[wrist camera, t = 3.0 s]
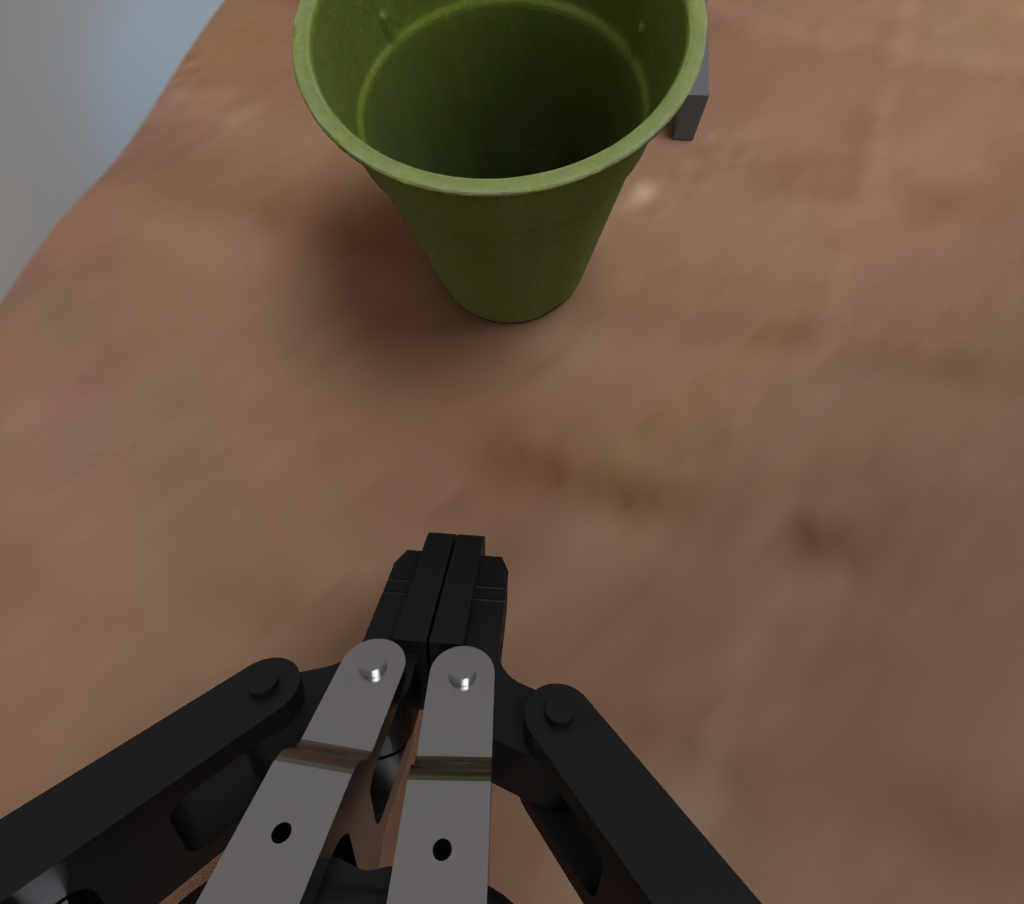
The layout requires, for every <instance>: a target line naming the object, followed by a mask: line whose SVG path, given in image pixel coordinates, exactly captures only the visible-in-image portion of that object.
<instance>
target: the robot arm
mask: <svg viewBox="0 0 1024 904" xmlns="http://www.w3.org/2000/svg"><path fill="white" fill-rule="evenodd" d="M507 587H508V570H507V568H506V565H505V563H504V561H503V559H502V557H494V556H485V536H473V535H460V534H458V535H456V534H445V533H431V532H430V533H429V534H428V536H427V538H426V541H425V544H424V547H423V550H422V551H414V550H407V551H406V552H405V553H404V554H403V555H402V556H401V557H400V558H399V559H398V560H397V561H396V562H395V563H394V566H393V568H392V571H391V573H390V576H389V580H388V581H387V583H386V586H385V588H384V592H383V593H382V596H381V598H380V600H379V603H378V605H377V608H376V610H375V613H374V615H373V618H372V620H371V623H370V625H369V628H368V630H367V633H366V635H365V638H364V640H363V642H362V643H360V644H358V645H356V646H355V647H353V648H352V649H351V650H350V651H349V652H348V653H347V654H346V655H345V656H344V658H343V660H342V661H341V662H339V663H337V664H335V665H332V666H328V667H324V668H319V669H314V670H309V671H304V672H299V670H298V668H297V666H296V665H295V664H294V663H293V662H291V661H290V660H287V659H284V658H269V659H264V660H261V661H258V662H256V663H254V664H252V665H250V666H248V667H247V668H245V669H244V670H242V671H240V672H239V673H237V674H235V675H234V676H232V677H231V678H229V679H227V680H226V681H224V682H222V683H221V684H219V685H218V686H216V687H214V688H213V689H211V690H209V691H208V692H206V693H205V694H203V695H201V696H200V697H198V698H196V699H195V700H193V701H192V702H190V703H188V704H187V705H185V706H183V707H182V708H180V709H179V710H177V711H175V712H174V713H172V714H170V715H169V716H167V717H166V718H164V719H162V720H161V721H159V722H157V723H156V724H154V725H153V726H151V727H149V728H148V729H146V730H145V731H143V732H141V733H140V734H138V735H136V736H135V737H133V738H132V739H130V740H128V741H127V742H125V743H123V744H122V745H120V746H119V747H117V748H115V749H114V750H112V751H110V752H109V753H107V754H106V755H104V756H102V757H101V758H99V759H97V760H96V761H94V762H93V763H91V764H89V765H88V766H86V767H84V768H83V769H81V770H80V771H78V772H76V773H75V774H73V775H71V776H70V777H68V778H67V779H65V780H63V781H62V782H60V783H58V784H57V785H55V786H54V787H52V788H50V789H49V790H47V791H45V792H44V793H42V794H41V795H39V796H37V797H36V798H34V799H32V800H31V801H29V802H28V803H26V804H24V805H23V806H21V807H19V808H18V809H16V810H15V811H13V812H11V813H10V814H8V815H6V816H5V817H3V818H2V819H0V904H159V903H160V902H161V901H163V900H164V899H165V898H166V897H167V896H169V895H170V894H171V893H172V892H173V891H175V890H176V889H177V888H178V887H180V886H181V885H182V884H183V883H184V882H186V881H187V880H188V879H189V878H191V877H192V876H193V875H194V874H195V873H197V872H198V871H199V870H200V869H201V868H203V867H204V866H205V865H206V864H208V863H209V862H210V861H211V860H212V859H214V858H215V857H216V856H217V855H218V854H220V853H221V852H222V851H223V850H225V851H224V853H223V855H222V856H221V858H220V860H219V862H218V864H217V866H216V867H215V869H214V871H213V873H212V875H211V877H210V878H209V880H208V881H207V882H205V883H204V884H202V885H201V886H199V887H198V888H197V889H195V890H194V891H193V892H191V893H190V894H189V895H187V896H186V897H185V898H184V899H183V900H181V901H180V902H179V903H178V904H513V903H512V902H511V901H510V900H509V899H508V898H506V897H505V896H504V895H503V894H501V893H500V892H498V891H497V890H495V889H494V888H492V887H490V886H488V880H489V847H490V815H491V784H492V783H494V784H496V785H498V786H500V787H502V788H504V789H506V790H508V791H510V792H512V793H514V794H516V795H518V796H519V797H520V799H521V802H522V804H523V806H524V808H525V810H526V811H527V813H528V815H529V816H530V818H531V819H532V821H533V823H534V824H535V826H536V828H537V829H538V831H539V832H540V834H541V836H542V837H543V839H544V840H545V842H546V844H547V845H548V847H549V849H550V850H551V852H552V853H553V855H554V857H555V858H556V860H557V861H558V863H559V865H560V866H561V868H562V869H563V871H564V873H565V874H566V876H567V878H568V879H569V881H570V882H571V884H572V886H573V887H574V889H575V890H576V892H577V894H578V895H579V897H580V899H581V900H582V902H583V903H584V904H761V902H760V901H759V900H758V899H757V898H756V897H755V895H754V894H753V893H752V892H751V891H750V889H749V888H748V887H747V886H746V885H745V884H744V882H743V881H742V880H741V879H740V878H739V877H738V875H737V874H736V873H735V872H734V871H733V870H732V868H731V867H730V866H729V865H728V864H727V863H726V861H725V860H724V859H723V858H722V857H721V855H720V854H719V853H718V852H717V851H716V850H715V848H714V847H713V846H712V845H711V844H710V843H709V841H708V840H707V839H706V838H705V837H704V836H703V834H702V833H701V832H700V831H699V830H698V829H697V827H696V826H695V825H694V824H693V823H692V822H691V820H690V819H689V818H688V817H687V816H686V814H685V813H684V812H683V811H682V810H681V809H680V807H679V806H678V805H677V804H676V803H675V802H674V800H673V799H672V798H671V797H670V796H669V795H668V793H667V792H666V791H665V790H664V789H663V788H662V786H661V785H660V784H659V783H658V782H657V780H656V779H655V778H654V777H653V776H652V775H651V773H650V772H649V771H648V770H647V769H646V768H645V766H644V765H643V764H642V763H641V762H640V761H639V759H638V758H637V757H636V756H635V755H634V754H633V752H632V751H631V750H630V749H629V748H628V747H627V745H626V744H625V743H624V742H623V741H622V739H621V738H620V737H619V736H618V735H617V734H616V732H615V731H614V730H613V729H612V728H611V727H610V725H609V724H608V723H607V722H606V721H605V720H604V718H603V717H602V716H601V715H600V714H599V713H598V711H597V710H596V709H595V708H594V707H593V705H592V704H591V703H590V702H589V701H588V700H587V698H586V697H585V696H584V695H583V694H582V693H580V692H579V691H578V690H576V689H574V688H573V687H570V686H568V685H564V684H548V685H544V686H542V687H540V688H538V689H537V690H535V689H532V688H530V687H527V686H525V685H523V684H521V683H519V682H517V681H515V680H514V679H512V678H511V677H510V676H509V675H508V674H507V673H506V671H505V670H504V669H503V667H502V665H501V658H502V648H503V639H504V629H505V621H506V612H507ZM419 709H423V710H424V711H423V717H422V724H421V730H420V736H419V742H418V749H417V755H416V760H415V763H414V765H411V768H410V771H409V775H408V779H407V785H406V791H405V796H404V802H403V808H402V814H401V820H400V826H399V832H398V838H397V844H396V850H395V856H394V862H393V866H389V867H384V868H380V869H378V867H379V862H380V856H381V848H382V840H383V835H384V831H385V827H386V824H387V821H388V818H389V815H390V811H391V808H392V805H393V802H394V799H395V796H396V793H397V790H398V787H399V784H400V781H401V777H402V774H403V771H404V768H405V765H406V762H407V759H408V756H409V753H410V750H411V747H412V743H413V730H414V727H415V723H416V719H417V715H418V711H419Z"/></svg>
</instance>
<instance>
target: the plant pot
mask: <svg viewBox="0 0 1024 904" xmlns="http://www.w3.org/2000/svg"><path fill="white" fill-rule="evenodd" d="M706 40H707V12H706V5H705V0H301V1H300V3H299V6H298V9H297V13H296V16H295V22H294V29H293V41H292V57H293V67H294V73H295V77H296V81H297V84H298V87H299V90H300V92H301V94H302V97H303V99H304V102H305V104H306V106H307V107H308V109H309V111H310V112H311V114H312V115H313V117H314V119H315V120H316V122H317V123H318V125H319V126H320V127H321V128H322V129H323V131H324V132H325V133H326V134H327V136H328V137H329V138H330V139H331V140H332V141H333V142H334V143H335V144H336V145H337V146H338V147H339V148H340V149H341V150H343V151H344V152H345V153H347V154H348V155H349V156H351V157H352V158H353V159H355V160H356V161H358V162H359V163H360V164H362V165H363V166H364V167H365V168H366V170H367V171H368V173H369V174H370V176H371V177H372V178H373V180H374V181H375V182H376V184H377V185H378V186H379V187H380V188H381V189H382V190H384V191H385V192H386V193H387V194H388V195H389V196H390V198H391V200H392V201H393V203H394V204H395V206H396V208H397V209H398V211H399V213H400V214H401V216H402V217H403V219H404V221H405V222H406V224H407V225H408V227H409V229H410V230H411V232H412V234H413V235H414V237H415V239H416V240H417V242H418V244H419V245H420V247H421V249H422V250H423V252H424V254H425V255H426V257H427V258H428V260H429V262H430V263H431V265H432V267H433V268H434V270H435V272H436V273H437V275H438V276H439V278H440V280H441V281H442V283H443V284H444V286H445V288H446V289H447V290H448V292H449V293H450V294H451V295H452V297H453V298H454V299H455V300H456V301H457V302H458V303H459V304H460V305H461V306H462V307H464V308H465V309H466V310H468V311H470V312H471V313H473V314H475V315H477V316H480V317H482V318H485V319H488V320H492V321H497V322H523V321H528V320H532V319H535V318H538V317H540V316H542V315H543V314H545V313H547V312H548V311H550V310H552V309H553V308H555V307H556V306H558V305H559V304H561V303H562V302H564V301H565V300H567V299H568V298H569V297H570V295H571V294H572V293H573V292H574V290H575V289H576V287H577V285H578V283H579V282H580V279H581V277H582V275H583V273H584V270H585V268H586V266H587V264H588V261H589V259H590V257H591V255H592V253H593V250H594V248H595V246H596V244H597V242H598V239H599V237H600V235H601V233H602V230H603V228H604V226H605V223H606V221H607V219H608V217H609V214H610V212H611V210H612V208H613V205H614V203H615V201H616V199H617V197H618V194H619V192H620V190H621V188H622V185H623V183H624V181H625V179H626V177H627V176H628V175H629V174H630V172H631V171H632V170H633V168H634V167H635V165H636V164H637V162H638V161H639V159H640V158H641V156H642V154H643V152H644V150H645V148H646V146H647V144H648V143H649V142H650V141H651V140H652V139H653V138H654V137H655V136H656V135H657V134H658V133H659V132H660V131H661V130H662V129H663V128H664V127H665V126H666V125H667V124H668V123H669V122H670V120H671V119H672V118H673V117H674V116H675V114H676V113H677V112H678V110H679V109H680V107H681V105H682V104H683V102H684V101H685V99H686V98H687V96H688V95H689V93H690V91H691V89H692V87H693V85H694V83H695V81H696V79H697V77H698V74H699V71H700V69H701V65H702V61H703V57H704V53H705V47H706Z"/></svg>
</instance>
